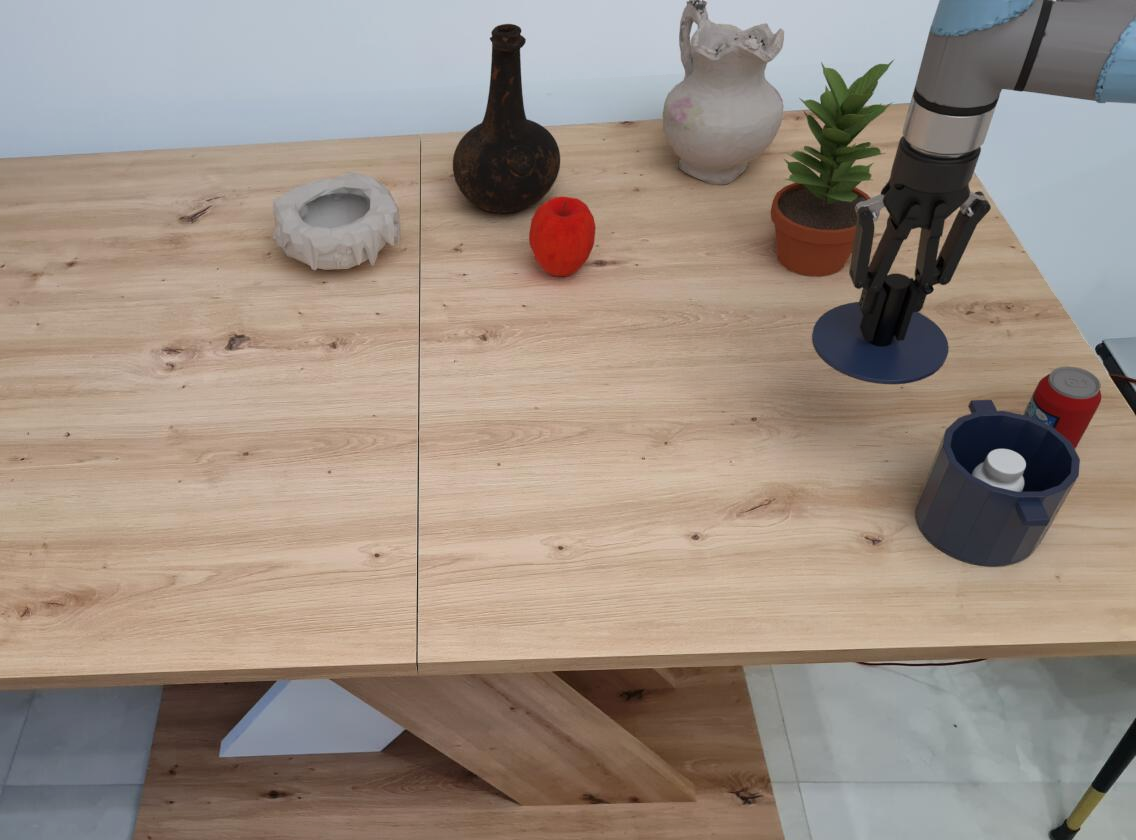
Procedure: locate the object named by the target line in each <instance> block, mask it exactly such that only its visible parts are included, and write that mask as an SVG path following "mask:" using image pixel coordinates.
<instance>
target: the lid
mask: <svg viewBox="0 0 1136 840" xmlns="http://www.w3.org/2000/svg"><path fill="white" fill-rule="evenodd" d="M910 278H911V277H909V276H907V275H905V274H902V273H888V275H887V277H886V279H885V281H884V283H883V287H884V289H885V291H886V297H885V301H884V304H883V307H882V311H881V314H880V317H879V320H878V324H877V327H876V330H875V334H874V337H873V340H872V341H870V342H865V339H864V337H863V334H862V332H861V329H860V324H861V321H862V318H863V314H862V312H861V310H860V307H859V301H855V302H854V301H853V302H849V303H844V304H840V305H838V306H835V307H832V308H831V309H829V310H827V311H825V313H823V314H821V316H820V317H819V318H818V319H817V320H816V321H815V324H814V325H813V328H812V334H811V342H812V347H813V348H814V351H815V353H816V354H817V355H818V357H819V358H820V359H821V360H822V361H823V362H824V363H825V364H827V366H829V367H831V368H832V369H833V370H835V371H837V372H839V373H841V374H842V375H844V376H847V377H849V378H852V379H855V380H858V381H861V382H866V383H871V384H875V385H904V384H911V383H916V382H920V381H922V380H924V379H928V378H929V377H930V376H933V375H935V373H937V372H938V371H939V370H940V369H942V368H943V366H944V364H945V363H946V361H947V358H948V354H949V350H950V348H949V341H948V338H947V336H946V334H945V333H944V331H943V330H942V328H941V327H940V326H939V325H938V324H937V323H935V322H934V321H933V320H931V319H930V318H929V317H928V316H925V315H924V314H922V313H921V312H920V311H919V312H913V314H912V317H911V320H910V323H909V326H908V329H907V332H906V335H905V338H904V340H897V339H896V337H895V333H896V329H897V326H898V323H899V320H900V317H901V314H902V311H903V308H904V304H905V301H906V298H907V295H908V292H909V289H910V286H911V280H910Z"/></svg>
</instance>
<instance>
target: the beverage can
mask: <svg viewBox="0 0 1136 840" xmlns="http://www.w3.org/2000/svg"><path fill="white" fill-rule="evenodd" d="M1101 385H1102V384H1101V381H1100V380H1099V379H1098V377H1097V376H1096V375H1095V374H1094V373H1092V372H1090V371H1088V370H1086V369H1084V368H1080V367H1077V366H1060V367H1057V368H1054V369H1053V370H1052V371H1051V372H1050V373H1048V374H1047V375H1045V376H1043V377H1042V378H1041V379H1040V380H1039V381H1038V383H1037V385H1036V387H1035V389H1034V391H1033V392H1032V395H1031V397H1030V399H1029V401H1028V403H1027V406H1026V408H1025V410H1024V412H1023V414H1022V415H1026V416H1030V417H1032V418H1034V419H1037V420H1039V421H1041V422H1043V423H1045V424H1047V425H1049V426H1052V427H1053V428H1054V429H1056V430H1057V431H1058V432H1059V433H1060V434H1062V435H1063V436H1064V437H1065V438H1066V439H1068V440H1069V441H1070V442H1071V443H1072V445H1073V447H1074V449H1075V450H1076V449H1077V447H1078V445H1079V443H1080V441H1081V440H1082V439H1083V436H1084V434H1085V432H1086V431H1087V428H1088V427H1089V425H1090V423H1091V421H1092V419H1093V418H1094V415H1095V414H1096V412H1097V410H1098V408H1099V406H1100V405H1101V402H1102V391H1101Z"/></svg>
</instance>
